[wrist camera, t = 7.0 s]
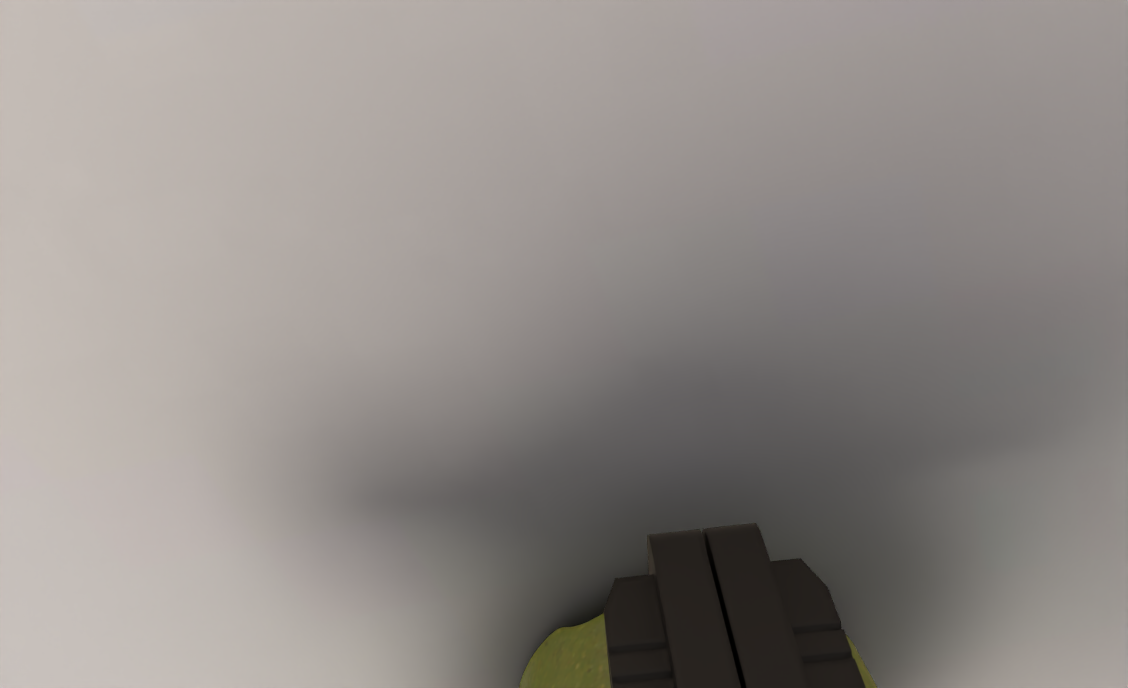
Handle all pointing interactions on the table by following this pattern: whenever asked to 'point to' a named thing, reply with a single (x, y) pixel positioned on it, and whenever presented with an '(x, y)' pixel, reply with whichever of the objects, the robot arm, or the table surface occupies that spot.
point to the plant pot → (592, 659)
